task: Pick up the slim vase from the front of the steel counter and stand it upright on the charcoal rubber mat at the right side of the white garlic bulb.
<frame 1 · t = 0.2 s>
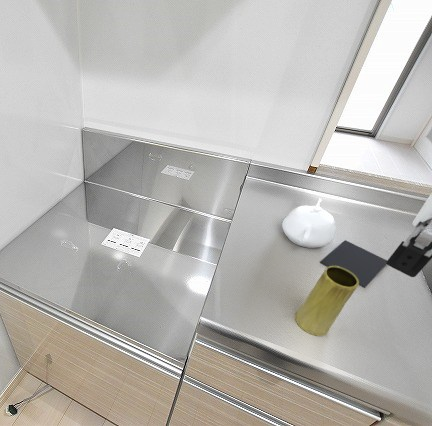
hand: (413, 255, 42), 25 cm above the worktop, tool pointing down, fingers open, 9 cm apart
vase: (310, 323, 61), on the worktop
white garlic bulb: (303, 236, 83), on the worktop
mat: (353, 262, 74), on the worktop
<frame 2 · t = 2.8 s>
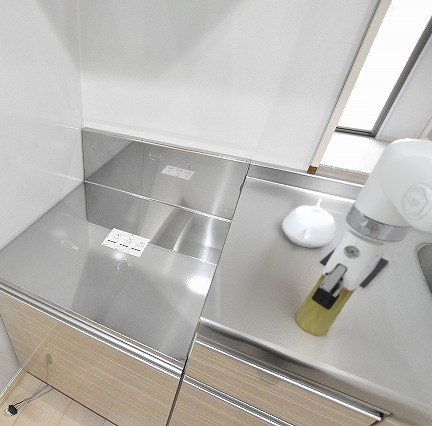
hand: (328, 295, 56), 9 cm above the worktop, tool pointing down, fingers closed on vase, 5 cm apart
vase: (310, 323, 61), on the worktop, touching gripper
everything else where it was.
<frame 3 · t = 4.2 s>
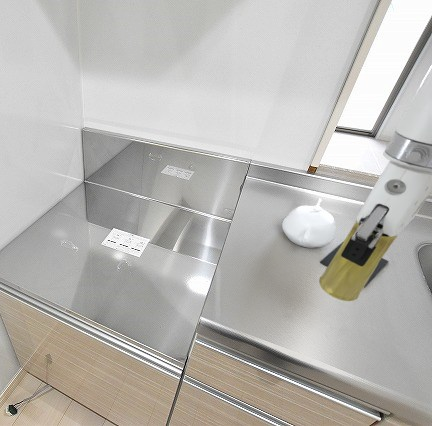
hand: (360, 252, 48), 21 cm above the worktop, tool pointing down, fingers closed on vase, 5 cm apart
vase: (337, 288, 54), point 11 cm above the worktop, touching gripper
everything else where it was.
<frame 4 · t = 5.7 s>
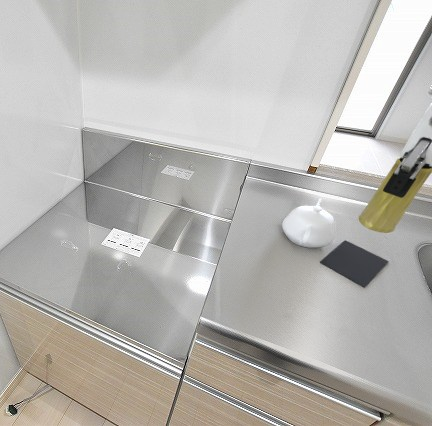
hand: (399, 188, 56), 25 cm above the worktop, tool pointing down, fingers closed on vase, 5 cm apart
vase: (374, 224, 62), point 16 cm above the worktop, touching gripper
everything else where it was.
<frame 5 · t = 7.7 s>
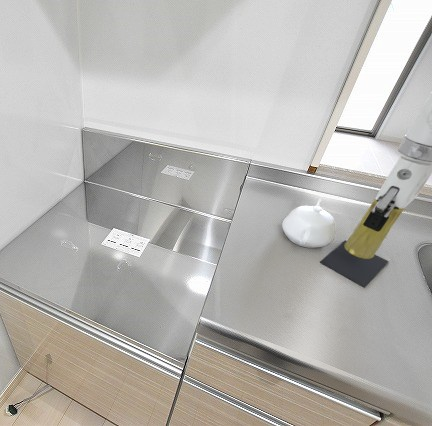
hand: (377, 222, 67), 13 cm above the worktop, tool pointing down, fingers closed on vase, 5 cm apart
vase: (358, 251, 72), point 4 cm above the worktop, touching gripper
everything else where it was.
when the fingers open (9 cm above the worktop, at t = 9.1 s): vase stays where it is, resting on mat.
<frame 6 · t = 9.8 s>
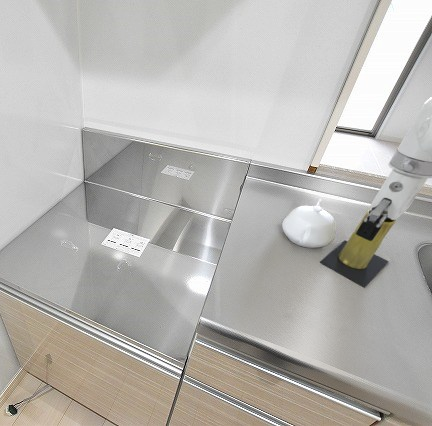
hand: (372, 229, 68), 11 cm above the worktop, tool pointing down, fingers open, 9 cm apart
vase: (351, 261, 74), resting on mat
everything else where it was.
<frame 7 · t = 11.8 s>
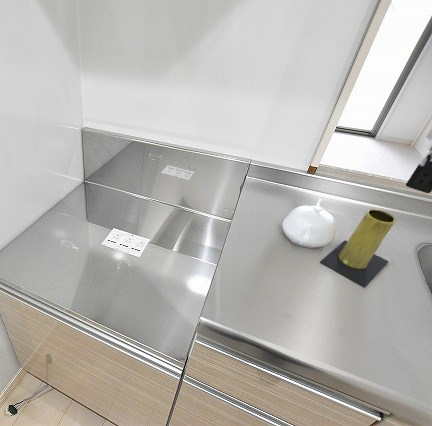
hand: (427, 180, 51), 29 cm above the worktop, tool pointing down, fingers open, 9 cm apart
nothing on the worktop moved.
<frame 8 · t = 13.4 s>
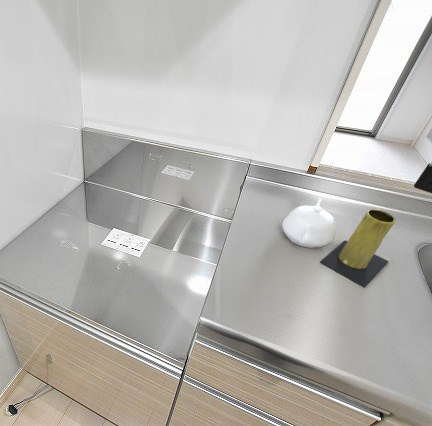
nothing on the worktop moved.
at the end: vase inside the target area on the worktop beside the white garlic bulb (0.3 cm from its centre), resting on mat; vase tilted 0°; white garlic bulb moved 0.2 cm from its start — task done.
